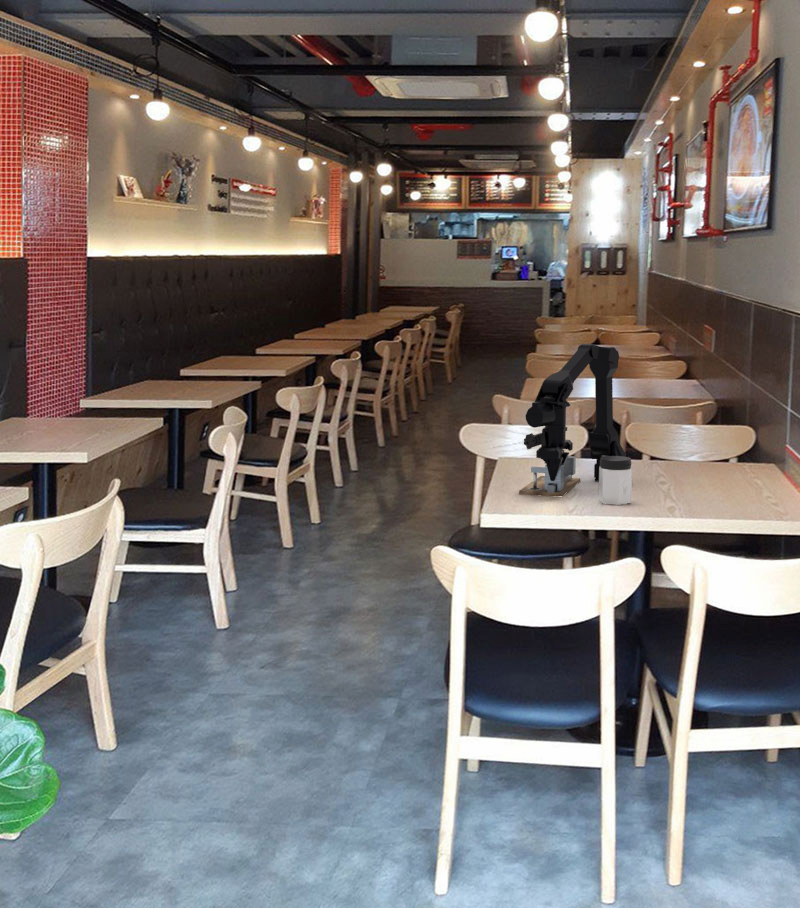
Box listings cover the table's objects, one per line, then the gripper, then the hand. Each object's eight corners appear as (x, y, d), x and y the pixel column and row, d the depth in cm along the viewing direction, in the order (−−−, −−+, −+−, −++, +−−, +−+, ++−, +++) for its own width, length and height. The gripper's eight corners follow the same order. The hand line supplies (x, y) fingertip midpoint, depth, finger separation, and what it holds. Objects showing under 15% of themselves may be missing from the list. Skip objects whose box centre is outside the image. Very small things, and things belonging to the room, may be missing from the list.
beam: (576, 479, 341) (576, 455, 340) (558, 493, 320) (559, 468, 319) (546, 477, 344) (547, 454, 343) (527, 491, 323) (528, 466, 322)
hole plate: (580, 481, 343) (580, 477, 343) (561, 497, 320) (561, 492, 320) (540, 479, 347) (540, 475, 347) (519, 494, 324) (519, 490, 324)
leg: (563, 488, 325) (564, 463, 324) (560, 490, 322) (560, 465, 321) (533, 486, 328) (533, 461, 327) (529, 488, 325) (530, 464, 324)
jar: (613, 506, 307) (614, 461, 305) (591, 501, 314) (593, 457, 312) (637, 502, 312) (639, 458, 310) (616, 497, 318) (617, 454, 317)
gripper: (535, 418, 333) (534, 472, 335) (518, 426, 316) (517, 483, 318) (573, 420, 329) (572, 474, 331) (558, 428, 312) (557, 486, 314)
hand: (554, 479), depth 324 cm, fingers closed on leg, 4 cm apart
